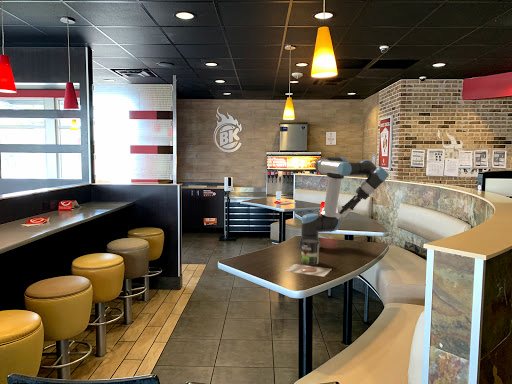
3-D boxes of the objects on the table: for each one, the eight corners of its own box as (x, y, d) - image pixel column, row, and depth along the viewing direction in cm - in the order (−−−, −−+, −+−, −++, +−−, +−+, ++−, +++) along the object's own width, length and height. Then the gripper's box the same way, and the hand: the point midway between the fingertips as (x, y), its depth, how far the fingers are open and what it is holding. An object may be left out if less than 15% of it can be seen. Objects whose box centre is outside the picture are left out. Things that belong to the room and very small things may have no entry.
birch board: (284, 272, 213) (284, 270, 213) (294, 265, 227) (294, 264, 227) (324, 278, 204) (324, 276, 204) (331, 270, 218) (331, 268, 218)
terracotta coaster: (298, 270, 213) (298, 270, 213) (303, 266, 221) (303, 266, 221) (314, 273, 209) (314, 272, 209) (318, 269, 218) (318, 268, 218)
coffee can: (312, 267, 223) (312, 243, 222) (297, 264, 230) (298, 240, 229) (322, 264, 231) (322, 240, 230) (307, 261, 238) (308, 238, 237)
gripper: (365, 195, 209) (338, 223, 216) (373, 194, 232) (348, 219, 238) (355, 185, 211) (328, 213, 218) (364, 186, 234) (339, 211, 240)
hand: (339, 216), depth 228 cm, fingers open, 13 cm apart
